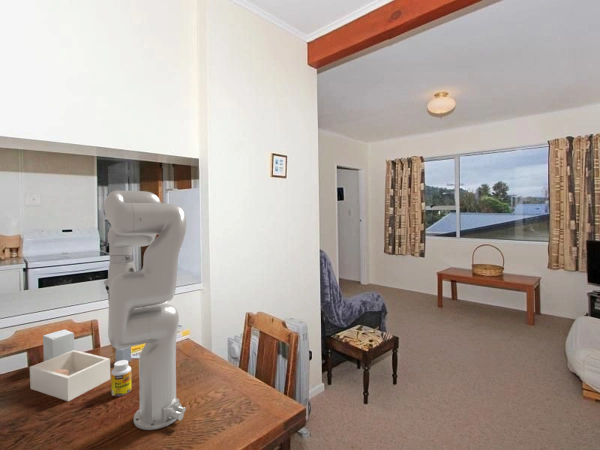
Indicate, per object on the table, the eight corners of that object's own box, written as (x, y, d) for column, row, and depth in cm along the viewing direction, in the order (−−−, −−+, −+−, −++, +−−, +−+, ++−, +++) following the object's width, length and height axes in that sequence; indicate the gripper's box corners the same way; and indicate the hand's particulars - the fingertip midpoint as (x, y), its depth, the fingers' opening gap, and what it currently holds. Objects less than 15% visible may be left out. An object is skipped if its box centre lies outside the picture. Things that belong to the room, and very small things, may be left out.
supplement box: (75, 366, 124) (74, 332, 123) (52, 374, 117) (51, 339, 117) (66, 361, 127) (65, 328, 127) (43, 369, 121) (42, 334, 121)
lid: (158, 361, 129) (158, 344, 129) (125, 380, 115) (124, 360, 115) (122, 353, 136) (122, 336, 136) (86, 370, 122) (86, 351, 122)
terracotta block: (68, 381, 111) (68, 369, 111) (59, 387, 107) (59, 375, 107) (56, 381, 111) (56, 369, 111) (47, 387, 107) (47, 375, 107)
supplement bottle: (112, 401, 101) (111, 368, 101) (110, 392, 106) (110, 361, 106) (132, 395, 104) (132, 363, 104) (130, 387, 109) (129, 357, 109)
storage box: (110, 381, 113) (110, 358, 112) (68, 404, 100) (67, 378, 99) (74, 371, 119) (73, 349, 119) (30, 391, 106) (29, 367, 106)
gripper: (147, 259, 124) (148, 304, 124) (113, 256, 130) (114, 300, 131) (130, 262, 117) (131, 310, 117) (95, 259, 123) (96, 305, 124)
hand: (122, 305), depth 124 cm, fingers open, 9 cm apart
